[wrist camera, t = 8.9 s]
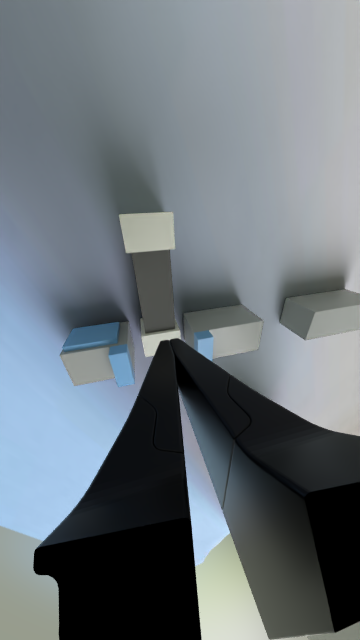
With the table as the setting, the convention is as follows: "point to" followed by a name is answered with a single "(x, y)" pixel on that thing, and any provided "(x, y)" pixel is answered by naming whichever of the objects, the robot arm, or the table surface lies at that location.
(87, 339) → the grey block row
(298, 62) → the table surface
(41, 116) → the table surface
